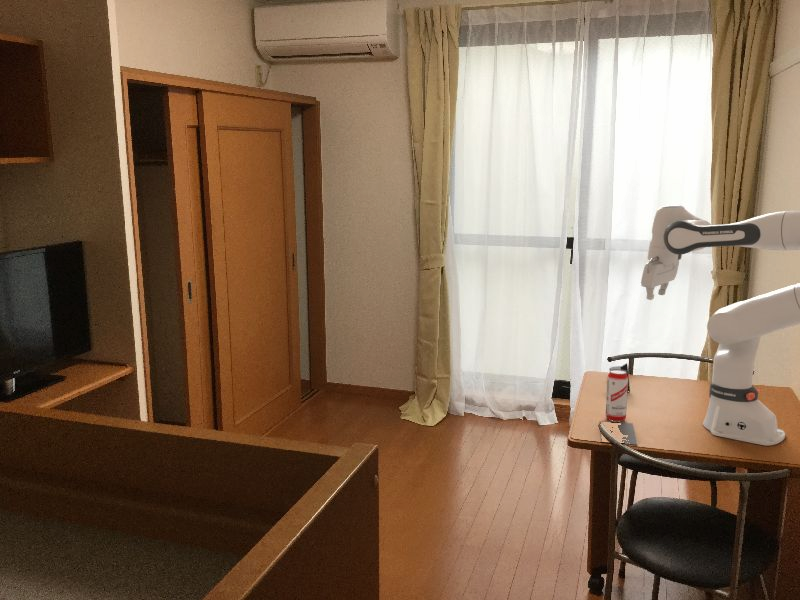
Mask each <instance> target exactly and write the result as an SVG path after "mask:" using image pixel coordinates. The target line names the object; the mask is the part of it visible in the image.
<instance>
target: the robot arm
mask: <svg viewBox="0 0 800 600" xmlns="http://www.w3.org/2000/svg"><path fill="white" fill-rule="evenodd" d="M651 234H652V235H651V236H652V237H651V240H650V242H649V247H648V252H647V260H649V262H646V263H645V265H644V266H643V272H642V276H641V280H640V284H641V285H640V286H641V287H644V288H645V289H646V300H649V301H653V300H654V297H655V294H654V290H655V288H657V287H658V286H659V289H658V292H657V293H658V295H659V296H664V295H665V294H666V292H667V291H666V290H667V288H668V287H669V284H670V282H672V281H674V280H675V279H676V277H677V274H678V270H679V267H680V266H679V264H680V260H682V257H683V255H685V254H689V253H691V252H695V251H699V250H703V249H705V248H717V247H719V248H720V247H744V248H752V249H760V250H766V251H798V250H799V251H800V210H784V211H775V212H770V213H766V214H761V215H758V216H755V217H752V218H749V219H746V220H745V219H744V220H742V221H737V222H733V223H726V224H711V223H710V222H709V221H707V220H706V219H705V220H704V219H703V218H700V217H697V216H696V215H694V214H693V213H691V212H689V211H688V210H687V209H686V208H685V207H684V205H680V204H670V205H662V206H660V207H659V208H657V210H656V212H655V216H654V218H653V224H652V228H651ZM706 325H707V326H706V329H707V333H708V336H710V338H711V339H712V340H713V341H714V342H715V343H718V347H717V350H716V352H715V354H714V356H713V363H712V365H713V367H712V378H711V379H712V380H710V385H709V390H708V391H709V394H708V395H709V404H708V407H707V411H706V414H705V417H704V420H703V422H702V425H703V427H704V428H705V429H707V430H708V431H710V433H711V434H712V435H713V436H716V437H722V438H726V439H731V440H736V441H741V442H746V443H751V444H755V445H761V446H766V447H767V446H774V445H778V444H780V443H782V441H784V440H785V438H786V433H785V431H784V430H783V429H780V428H778V420H777V416H776V415H775V413H774V412H773V411H771V410H770V409H769V408H768V407H767V406H766V405H764V403H763V402H762V401H760V400H759V394H760V393H761V392H760V391H761V389H760V388H758V389H757V388H756V387H754V385H753V376H754V370H755V367H754V366H755V360H756V355H757V351H758V348H759V345H760V341H761V337H762V336H765V335H768V334H771V333H773V332H778V331H780V330H783V329H786V328H790V327H794V326H798V325H800V282H798V283H795V284H791V285H788V286H785V287H784V286H783V287H782V288H779V289H776V290H775V289H774V290H772V291H770V292H766V293H764V294H759V295H757V296H754V297H751V298H748V299H746V300H741V301H740V300H739V301H736V302H734V303H731V304H729V305H726V306H724V307H721V308H719V309H718V310H716V311H715V312H714V313H713V314H712V315H711V316H710V317H709V319H708V321H707V324H706Z"/></svg>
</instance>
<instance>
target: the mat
mask: <svg viewBox="0 0 800 600" xmlns="http://www.w3.org/2000/svg"><path fill="white" fill-rule="evenodd" d="M620 423H621V425H618V428H619V430H620V432H621V433H622V434H623V435H628V437H627V438H626V437H623V438H622V439H626V440H627V441H626V440H622V442H623V441H624V443H626V444H625V445H627V444H629V443H630V444H633V445H632V446H638V442H637V438H636V432H635V427H634V424H633V422H632V423H631V422H620ZM612 428H613V427H612ZM610 431H611V430H610ZM612 432H613V431H611V433H612ZM628 440H629V441H628ZM627 442H628V443H627Z"/></svg>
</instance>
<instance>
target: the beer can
mask: <svg viewBox="0 0 800 600" xmlns="http://www.w3.org/2000/svg"><path fill="white" fill-rule="evenodd" d="M626 373H627V372H626V371H625V370H621V369H612V370H609V373H608V374H607V381H606V384H607V385H606V386H607V387H606V401H605V418H606V419H607V420H608V419H610V420H613V421H622V422H624V421H625V420H626V419H627V406H628V393H627V389H628V376H629V375H628V376H627V374H626ZM610 420H609V421H610ZM613 421H612V422H613Z"/></svg>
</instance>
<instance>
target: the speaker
mask: <svg viewBox="0 0 800 600" xmlns="http://www.w3.org/2000/svg"><path fill="white" fill-rule="evenodd" d="M612 369H621V370H625V371H626V372H627V373H626V374H627V376H628V389H627V392H628V391H630V392H631V387H630V377H629V366H628V362H626V363H624V364H623V365H617V366H611V367H610V368H609V371H610V370H612ZM628 393H629V392H628Z"/></svg>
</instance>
